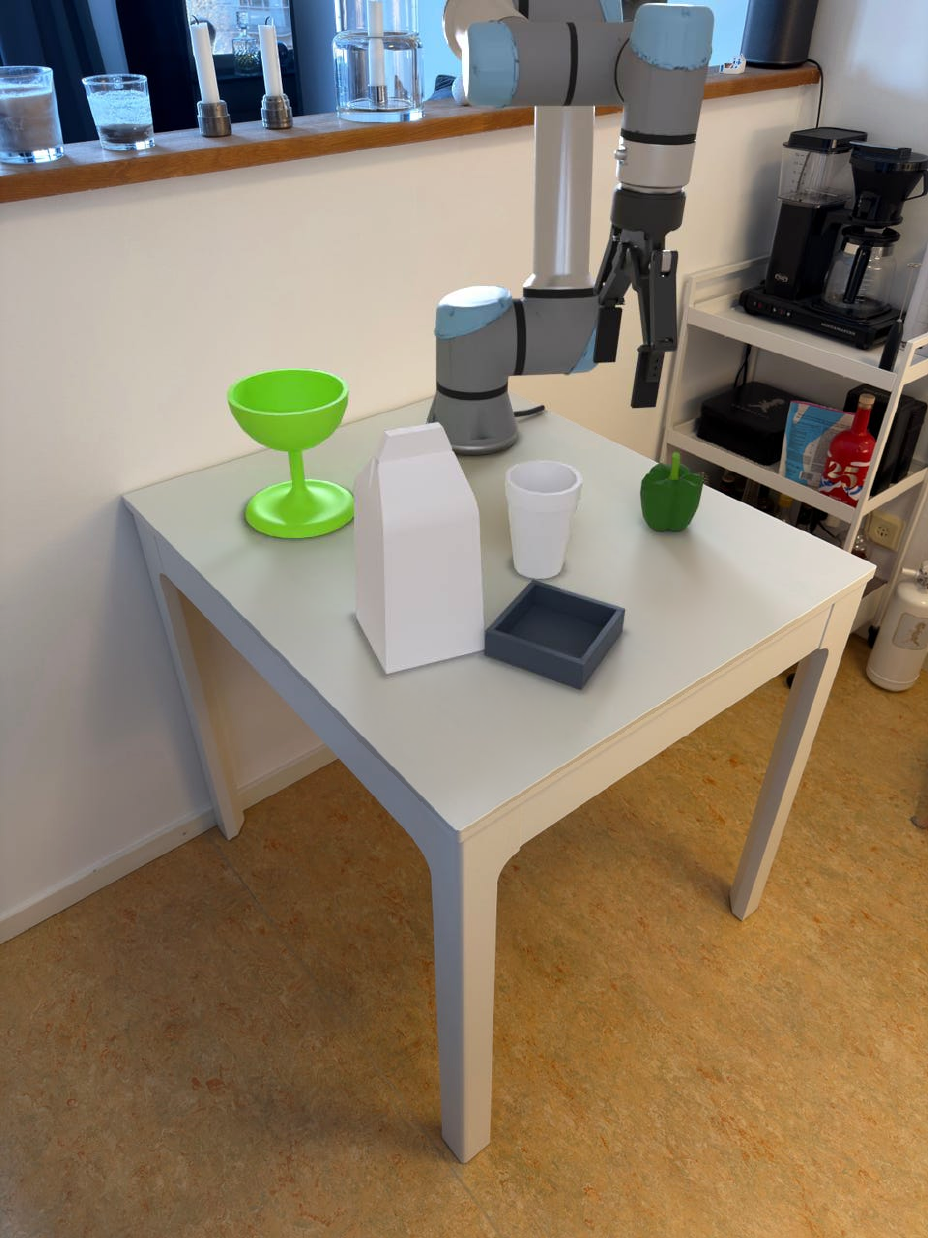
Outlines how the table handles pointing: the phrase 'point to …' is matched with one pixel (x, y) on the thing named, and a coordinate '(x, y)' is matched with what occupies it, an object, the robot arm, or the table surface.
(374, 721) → the table surface
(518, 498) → the foam cup
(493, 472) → the table surface
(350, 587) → the table surface
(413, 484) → the milk
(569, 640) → the tray
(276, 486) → the wineglass
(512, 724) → the table surface
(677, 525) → the bell pepper
